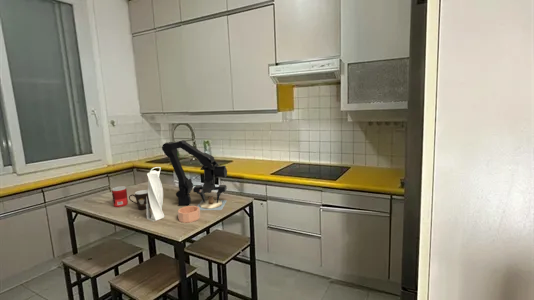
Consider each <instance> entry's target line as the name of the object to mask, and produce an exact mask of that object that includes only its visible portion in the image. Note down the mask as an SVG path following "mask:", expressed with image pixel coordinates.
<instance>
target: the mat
mask: <svg viewBox="0 0 534 300" xmlns="http://www.w3.org/2000/svg"><path fill="white" fill-rule="evenodd" d="M207 200H208V199H205V201H207ZM220 201H222V205H221V206H220V207H218V208H213V209H204V208H201V207H200V203H202V202H203V200H201V201H200V202H199V203H198V204H197V207H199V208H200V211H222V210H223V208H224V206H225V205H226V203H227V202H228V200H225V199H224V200H222V199H221V200H220Z"/></svg>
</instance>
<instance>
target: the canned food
mask: <svg viewBox="0 0 534 300" xmlns="http://www.w3.org/2000/svg"><path fill="white" fill-rule="evenodd" d="M127 190H128V189H127V186H123V185H122V186H115V187H113V188H111V194H112V202H113V206H114V208H121V207H125V206H127V205H128V204H129V201H128V200H129V198H128V192H127Z"/></svg>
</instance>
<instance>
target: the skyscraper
mask: <svg viewBox="0 0 534 300" xmlns="http://www.w3.org/2000/svg"><path fill="white" fill-rule="evenodd" d="M161 168H162V167H160V166H155V167H153V168H151V169H150V171H149V172H147V173H146V175H147V178H148V179H147V180H148V181H147V190H148V197H149V202H150V208H149V204H148V200H146V203H147V204H146V210H145V211H146V218H145V219H146V220H148V221H150V222H152V223H153V222H156V221H159V220H162V219H163V218H165V214H164V212H163V202H164V201H163V200H164V189H163V185H162V181H161V179H160V178H161V177H160V173H161V170H162V169H161ZM154 169H159V170H158V171H157V170H154ZM146 199H147V197H146ZM150 209H151V212H150Z"/></svg>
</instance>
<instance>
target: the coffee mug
mask: <svg viewBox="0 0 534 300" xmlns="http://www.w3.org/2000/svg"><path fill="white" fill-rule="evenodd" d="M131 197H134V199H135V201H134V200H132V199H131ZM146 197H147V199H146ZM128 200H129V201H130V202H131V203H132V204H133V203H134V204H135V205H137V209H138V210H139V211H147V210H146V204H147V203H146V200H148V204H149V209H151V206H150V202H149V197H148V189H141V190H137V191H135V192H134V194H130V195H129V196H128Z"/></svg>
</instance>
